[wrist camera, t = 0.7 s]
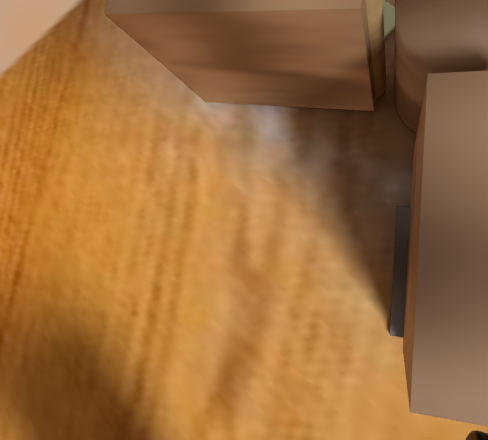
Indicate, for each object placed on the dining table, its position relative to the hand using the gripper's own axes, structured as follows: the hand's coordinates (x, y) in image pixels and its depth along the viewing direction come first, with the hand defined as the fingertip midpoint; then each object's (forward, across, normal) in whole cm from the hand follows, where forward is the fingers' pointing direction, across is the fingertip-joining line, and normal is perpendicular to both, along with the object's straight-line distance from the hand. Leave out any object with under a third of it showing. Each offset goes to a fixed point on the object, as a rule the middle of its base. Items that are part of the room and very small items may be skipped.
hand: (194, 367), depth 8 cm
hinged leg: (+18, +1, -3) cm, 18 cm away
